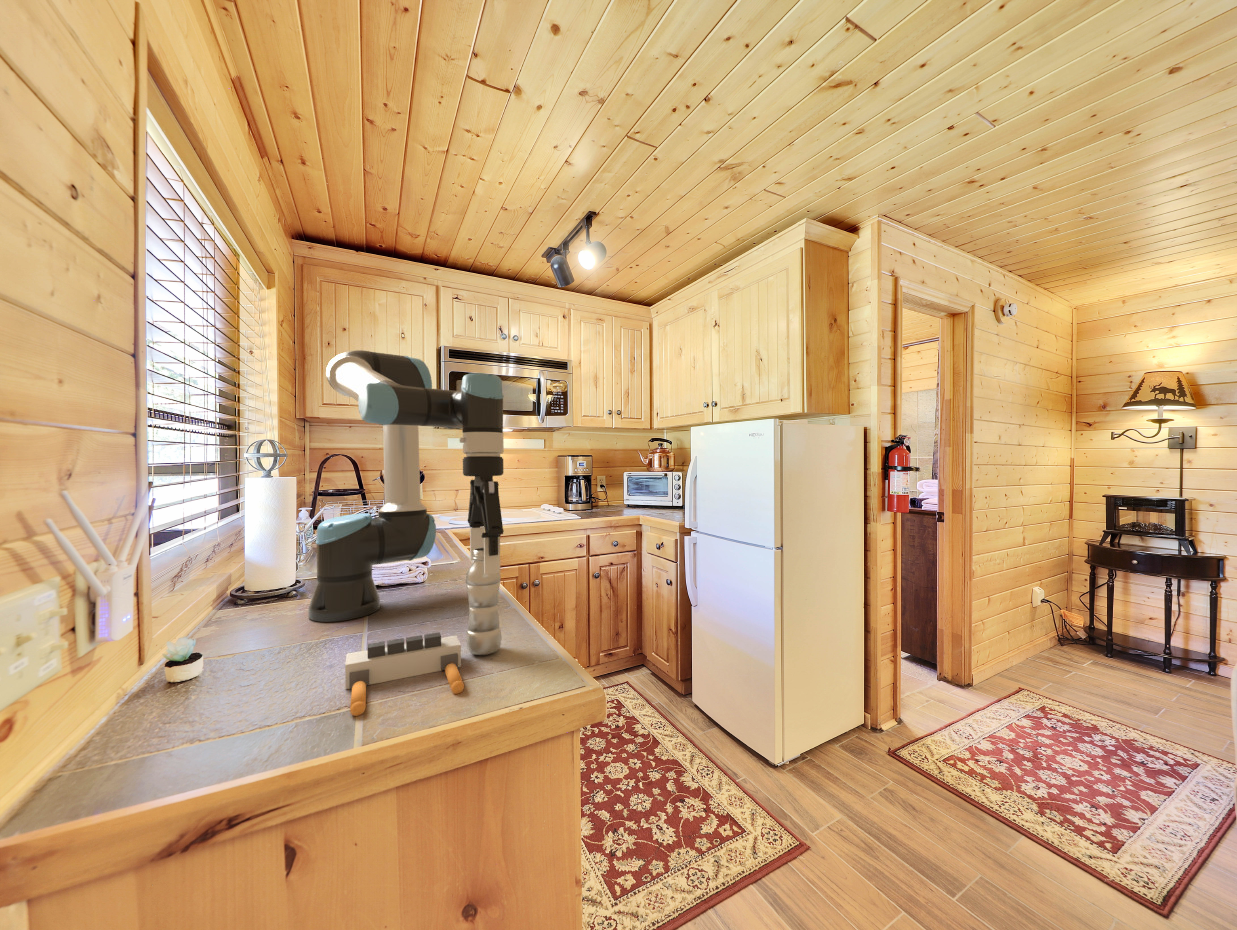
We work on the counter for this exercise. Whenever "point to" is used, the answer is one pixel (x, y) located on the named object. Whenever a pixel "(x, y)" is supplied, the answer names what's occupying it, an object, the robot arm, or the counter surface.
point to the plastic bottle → (482, 608)
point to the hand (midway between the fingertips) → (484, 566)
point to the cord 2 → (454, 678)
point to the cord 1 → (358, 698)
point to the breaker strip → (402, 659)
